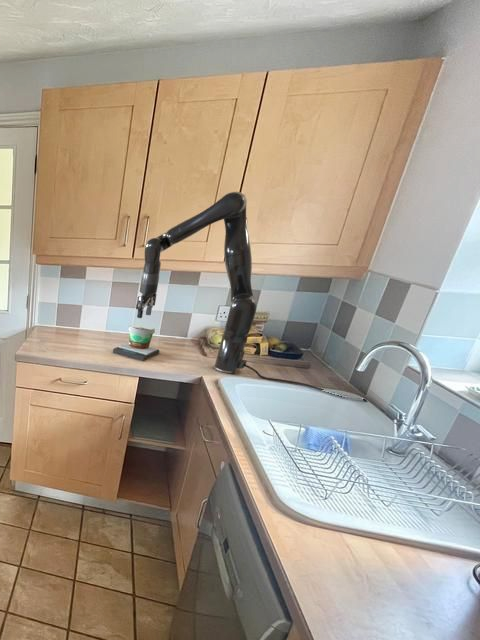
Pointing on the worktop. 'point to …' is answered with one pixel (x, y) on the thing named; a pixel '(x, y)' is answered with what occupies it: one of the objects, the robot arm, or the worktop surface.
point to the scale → (136, 352)
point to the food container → (140, 337)
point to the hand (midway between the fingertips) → (143, 316)
